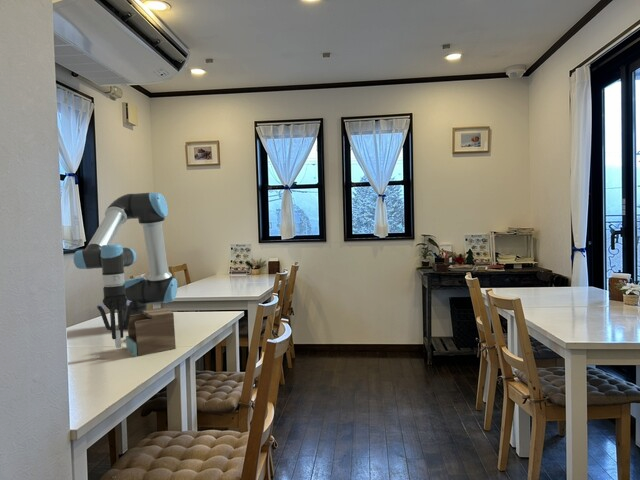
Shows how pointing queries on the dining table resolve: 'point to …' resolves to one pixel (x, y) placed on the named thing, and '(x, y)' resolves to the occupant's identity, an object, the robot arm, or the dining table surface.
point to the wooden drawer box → (152, 331)
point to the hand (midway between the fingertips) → (118, 347)
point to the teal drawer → (131, 346)
